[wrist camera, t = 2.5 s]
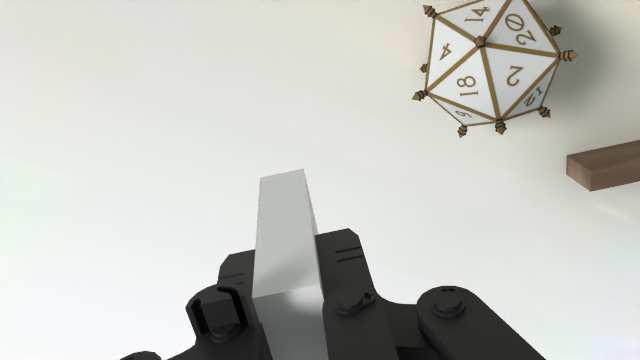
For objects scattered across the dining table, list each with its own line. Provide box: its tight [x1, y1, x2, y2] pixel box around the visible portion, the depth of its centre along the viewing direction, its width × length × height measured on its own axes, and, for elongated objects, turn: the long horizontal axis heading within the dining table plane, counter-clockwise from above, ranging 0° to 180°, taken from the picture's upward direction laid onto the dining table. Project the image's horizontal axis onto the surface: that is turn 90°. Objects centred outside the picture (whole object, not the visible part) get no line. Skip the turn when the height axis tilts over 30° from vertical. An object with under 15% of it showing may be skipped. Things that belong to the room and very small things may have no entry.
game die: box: [412, 0, 579, 138], centre depth 28 cm, size 9×8×10 cm
